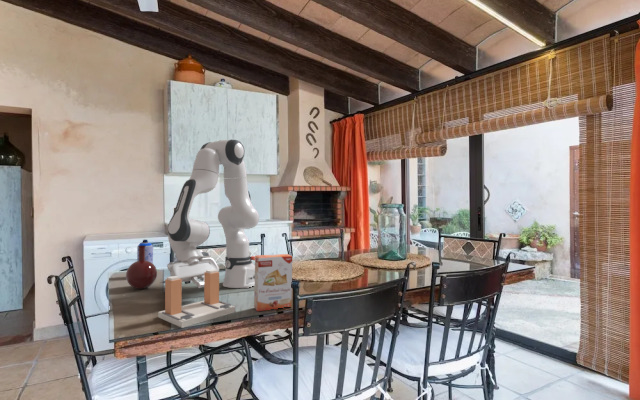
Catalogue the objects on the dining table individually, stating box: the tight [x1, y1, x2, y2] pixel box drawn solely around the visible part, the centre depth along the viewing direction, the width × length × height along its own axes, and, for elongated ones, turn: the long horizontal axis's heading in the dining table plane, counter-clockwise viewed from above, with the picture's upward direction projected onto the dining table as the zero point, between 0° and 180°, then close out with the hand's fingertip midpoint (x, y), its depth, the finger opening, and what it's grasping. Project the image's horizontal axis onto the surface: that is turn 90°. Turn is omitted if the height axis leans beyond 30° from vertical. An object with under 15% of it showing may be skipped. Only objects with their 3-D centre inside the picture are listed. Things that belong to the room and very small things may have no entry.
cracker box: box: [253, 253, 293, 312], centre depth 145 cm, size 14×6×21 cm, turn 114°
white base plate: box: [157, 300, 236, 329], centre depth 136 cm, size 22×16×3 cm
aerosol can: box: [136, 239, 154, 264], centre depth 195 cm, size 8×8×20 cm
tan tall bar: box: [203, 269, 220, 305], centre depth 144 cm, size 4×4×13 cm
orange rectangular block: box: [164, 275, 183, 315], centre depth 131 cm, size 4×4×13 cm
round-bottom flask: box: [125, 245, 158, 290], centre depth 172 cm, size 13×13×20 cm
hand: (202, 286), depth 147 cm, fingers closed
